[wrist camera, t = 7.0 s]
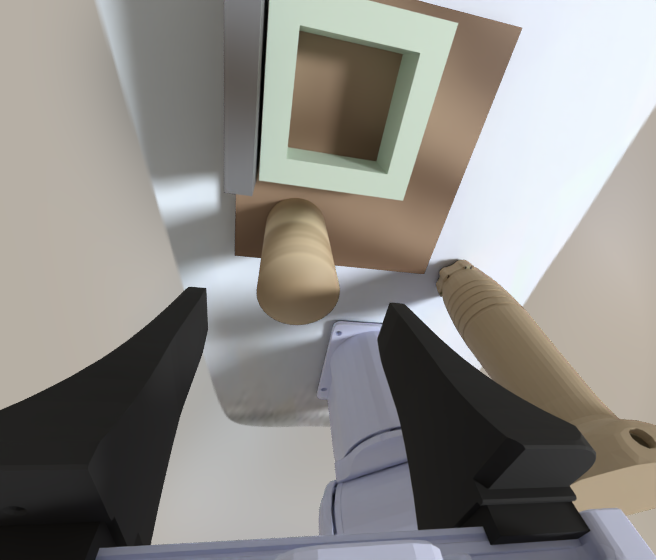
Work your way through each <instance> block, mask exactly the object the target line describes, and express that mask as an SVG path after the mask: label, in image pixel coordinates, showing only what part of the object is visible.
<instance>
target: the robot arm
mask: <svg viewBox="0 0 656 560" xmlns="http://www.w3.org/2000/svg"><path fill="white" fill-rule="evenodd" d="M207 331H208V320H207V294H206V288H198V287H188V288H187V289H185V290H184V291H183V292H182V293H181V295H179V296H178V297H177V298H176V299H175V300H174V301H173V302H172V303H171V304H170V305H169V306H168V307H167V308H166V309H165V310H164V311H163V312H161V313H160V314H159V315H158V316H157V317H156V318H155V319H154V320H152V321H151V322H150V323H149V324H148V325H146V326H145V327H144V328H143V329H142V330H140V331H139V332H138V333H137V334H135V335H134V336H133V337H132V338H130V339H129V340H128V341H126V342H125V343H123V344H122V345H121V346H119V347H118V348H117V349H115V350H114V351H112V352H111V353H109V354H108V355H106V356H105V357H103V358H102V359H100V360H98V361H97V362H95V363H93V364H91V365H90V366H88V367H86V368H85V369H83V370H81V371H79V372H78V373H76V374H74V375H73V376H71V377H69V378H67V379H65V380H63V381H61V382H59V383H57V384H56V385H54V386H52V387H50V388H48V389H46V390H44V391H41V392H40V393H37V394H36V395H33V396H31V397H29V398H27V399H25V400H23V401H20V402H18V403H16V404H13V405H11V406H9V407H7V408H4V409H2V410H0V560H656V556H655V554H654V553H653V552H652V550H651V549H650V548H649V546H648V545H647V544H646V542H645V541H644V540H643V538H642V537H641V536H640V534H639V533H638V532H637V530H636V529H635V528H634V526H633V525H632V523H631V522H630V521H629V519H628V518H627V517H626V515H625V514H624V513H623V511H622V510H621V509H619V508H602V509H588V510H584V511H581V512H578V510H577V509H576V507H575V506H574V504H573V503H572V501H575V500H577V497H576V495H575V493H574V492H573V490H572V489H571V487H570V485H571V484H572V483H574V482H575V481H576V480H577V479H578V478H580V477H581V476H582V475H583V474H584V473H586V472H587V471H588V470H589V469H590V468H591V467H592V466H593V464H594V462H595V461H596V452H595V450H594V449H593V448H592V446H591V445H590V444H589V443H588V441H587V440H586V439H585V437H584V436H583V435H582V433H581V432H580V431H579V430H578V428H577V427H576V426H575V425H573V424H571V423H569V422H567V421H565V420H563V419H561V418H558V417H556V416H554V415H552V414H550V413H548V412H546V411H544V410H542V409H540V408H538V407H537V406H535V405H533V404H531V403H529V402H528V401H526V400H524V399H522V398H520V397H519V396H517V395H515V394H514V393H512V392H510V391H509V390H507V389H506V388H504V387H502V386H501V385H499V384H498V383H496V382H495V381H493V380H492V379H490V378H489V377H487V376H486V375H484V374H483V373H482V372H480V371H479V370H478V369H476V368H475V367H474V366H472V365H471V364H470V363H468V362H467V361H466V360H464V359H463V358H462V357H461V356H459V355H458V354H457V353H456V352H455V351H454V350H452V349H451V348H450V347H449V346H448V345H447V344H446V343H444V342H443V341H442V340H441V339H440V338H439V337H438V336H437V335H436V334H435V333H434V332H433V331H432V330H431V329H430V328H429V327H428V326H426V325H425V324H424V323H423V322H422V321H421V320H420V319H419V318H418V317H417V316H416V315H415V314H414V313H413V312H412V311H411V310H410V309H409V308H408V307H407V306H406V305H405V304H400V303H390V304H389V306H388V309H387V312H386V315H385V318H384V321H383V324H375V323H360V322H345V321H338V322H335V323H334V325H333V328H332V332H331V336H330V340H329V344H328V349H327V353H326V357H325V361H324V365H323V369H322V373H321V377H320V382H319V386H318V390H317V398H318V399H325V400H328V409H329V418H330V426H331V435H332V444H333V452H334V458H335V472H336V480H334V481H331V482H330V483H329V484H328V485H327V486H326V488H325V491H324V495H323V498H322V500H321V504H320V509H319V536H305V537H287V538H270V539H253V540H235V541H216V542H199V543H181V544H163V545H151V540H152V535H153V531H154V526H155V521H156V516H157V511H158V506H159V502H160V498H161V493H162V489H163V484H164V480H165V475H166V471H167V467H168V462H169V458H170V454H171V450H172V445H173V442H174V438H175V434H176V430H177V426H178V422H179V418H180V415H181V412H182V409H183V406H184V403H185V400H186V398H187V395H188V392H189V389H190V387H191V383H192V381H193V378H194V376H195V373H196V370H197V367H198V364H199V362H200V359H201V356H202V353H203V349H204V345H205V340H206V336H207ZM337 331H340V332H338V333H337Z"/></svg>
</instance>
